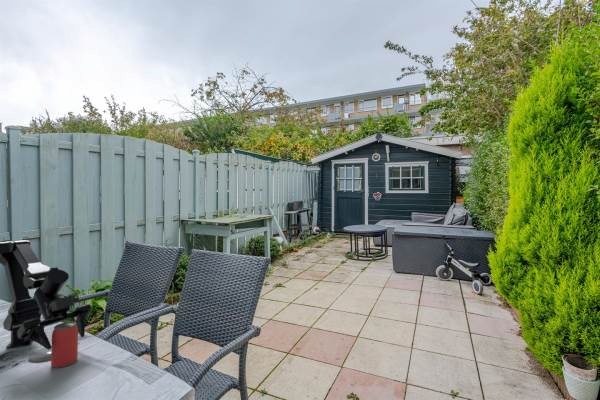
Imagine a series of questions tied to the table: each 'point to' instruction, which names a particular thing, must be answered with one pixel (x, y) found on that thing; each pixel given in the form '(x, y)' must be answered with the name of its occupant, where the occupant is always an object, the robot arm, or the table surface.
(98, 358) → the table surface
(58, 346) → the beer can
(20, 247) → the robot arm
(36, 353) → the slate coaster
